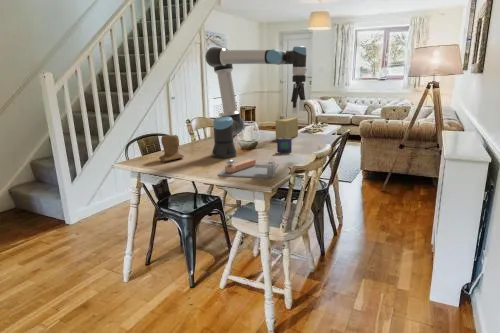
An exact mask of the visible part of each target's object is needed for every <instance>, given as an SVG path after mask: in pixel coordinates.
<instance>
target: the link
mask: <svg viewBox="0 0 500 333" xmlns="http://www.w3.org/2000/svg"><path fill="white" fill-rule="evenodd" d="M237 162H238V163H235V164H233V166H227V165H225V166H224V169H225V172H226V173H234V172H236V171H239V170H242V169H245V168H248V167H251V166H254V165H255V164H256V163H257V160H256V159H254V158H247V159H245V160H242V161H237Z"/></svg>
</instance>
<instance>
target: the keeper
mask: <svg viewBox="0 0 500 333" xmlns="http://www.w3.org/2000/svg"><path fill="white" fill-rule="evenodd" d="M275 164H276V161H275V160H260V159H259V160H258V161H256V164H255V167H256V168H267V176H270V178H274V177H275V175H276V169H275Z"/></svg>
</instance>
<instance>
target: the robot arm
mask: <svg viewBox="0 0 500 333" xmlns="http://www.w3.org/2000/svg"><path fill="white" fill-rule="evenodd" d="M204 57H205V62H206V63H207V65H208V66H210V67H212V68H213V71H214V73H215V74H216V75H217V79H218V86H219V92H220V99H221V104H222V109H223V113H222V115H221V116H220V117H219V116H218V117H216V118H214V119H213V125H212V127H213V141H214V142H213V143H214V144H213V148H212V152H211V154H212V155H211V156H212V157H213V158H215V159H230V158H231V159H232V158H234V157H236V156H237V155H238V153H237V152H238V151H237V149H236V147H235V143H234V138H233V136H234V135H237V134H239V135H240V133H241V132H242V131H243V130H244V127H245V122H244V120H243V118H242V117H241V114H240V112H239V111H238V109H237V102H236V96H235V89H234V84H233V77H232V71H233V70H234V69H233V68H234V67H233V65H292V78H291V79H292V82H293V87H292V88H293V89H292V93H291V99H290V102H291V103H292V108H291V109H292V110H291V112H292V114H296V115H297V114H298V111H299V112H304V108H305V106H304V105H305V103H304V102H305V101H306V94H305V93H306V92H305V83H304V82H306V78H307V77H306V72H307V47H306V46H304V45H300V46H299V45H297V46H293V47H292V50H281V49H277V48H272V49H228V48H225V47H217V46H214V47H210V48H209V49H207V50H206V53H205V56H204ZM298 98H299V101H298ZM298 104H299V105H298ZM237 136H238V135H237Z"/></svg>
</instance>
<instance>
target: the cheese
mask: <svg viewBox="0 0 500 333" xmlns="http://www.w3.org/2000/svg"><path fill="white" fill-rule="evenodd" d="M298 135H299V119H298V117H296V116H295V117H291V118H286V119H276V120H275V139H276V140H277V139H278V138H283V137H284V136H286V138H292V139H293V138H296V137H298Z"/></svg>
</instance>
